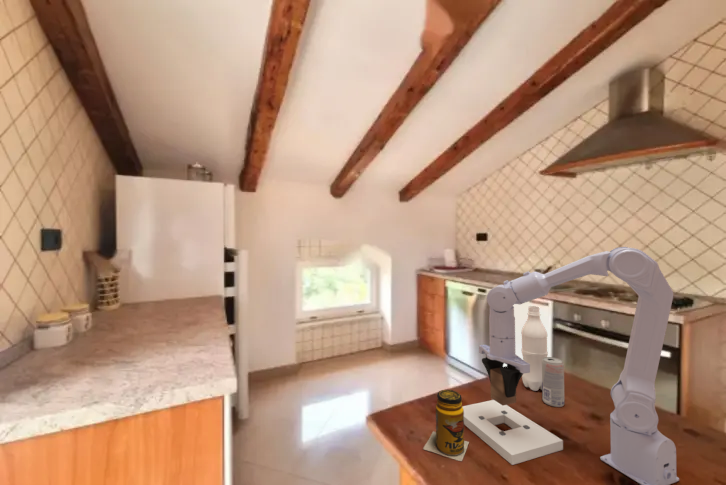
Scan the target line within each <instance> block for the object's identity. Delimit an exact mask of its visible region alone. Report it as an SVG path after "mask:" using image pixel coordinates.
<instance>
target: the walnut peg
mask: <svg viewBox="0 0 726 485" xmlns="http://www.w3.org/2000/svg"><path fill="white" fill-rule="evenodd" d="M490 381H491V383H490V399H491V400H495V401H496V402H498V403H499V404H501V405H507V406H509V405H513V404H516V403H517V391H516V392H515V396H514V397H509V398H508V397H506V395H505V390H504V380H503V376H502V373H501V371H500V368H495V369H490V379H489V382H490Z"/></svg>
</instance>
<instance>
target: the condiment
mask: <svg viewBox="0 0 726 485" xmlns="http://www.w3.org/2000/svg"><path fill="white" fill-rule="evenodd" d="M436 396H437V397H436V398H437V400H436V405H435V431H434V430H433V431H432V432H431V435H430V436H429V439H428V440H427V442H426V443H425V444H424V446H423V448H422V450H425V451H428V452H432V453H435V454H438V455H440V456H443V457H446V458H448V459H452V460H455V461H459V462H463V460H464V457H465V454H466V452H467V450H468V445H469V443H470V441H467V440H465V425H464V409H463V407H462V406H463V402H462V401H463V400H462V399H463V397H462V395H461V394H460V393H459V392H458V391H456V390H453V389H442V390H440V391H438V392H437V395H436Z"/></svg>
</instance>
